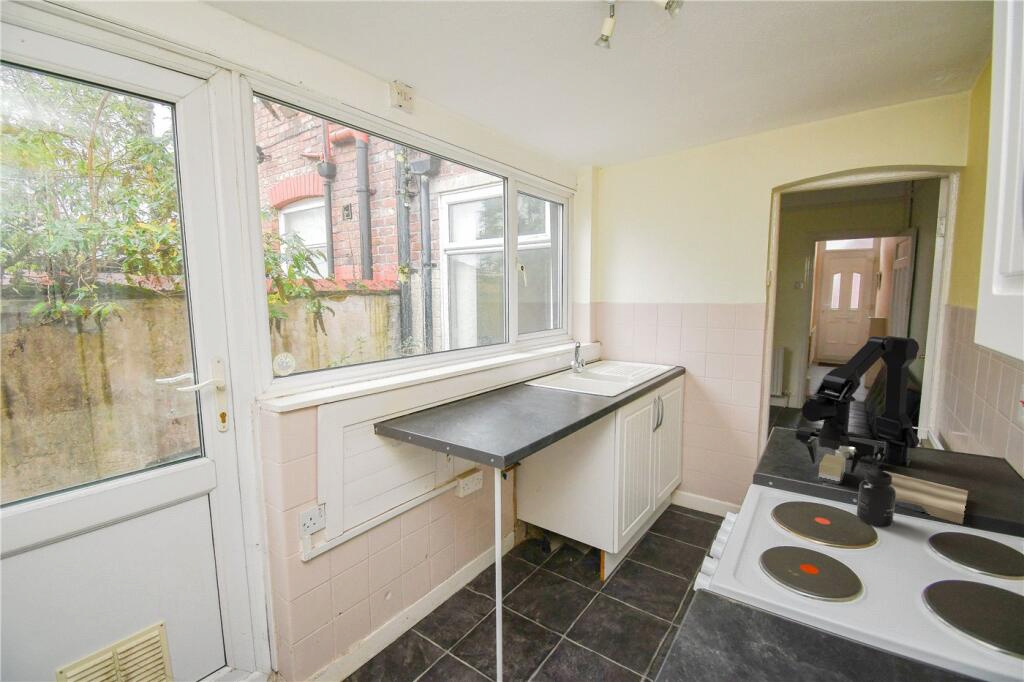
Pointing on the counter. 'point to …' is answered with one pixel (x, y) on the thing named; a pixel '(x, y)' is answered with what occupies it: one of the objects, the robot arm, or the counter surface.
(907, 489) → the crown molding piece
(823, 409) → the robot arm
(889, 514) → the supplement bottle
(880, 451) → the valve
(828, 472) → the housing
